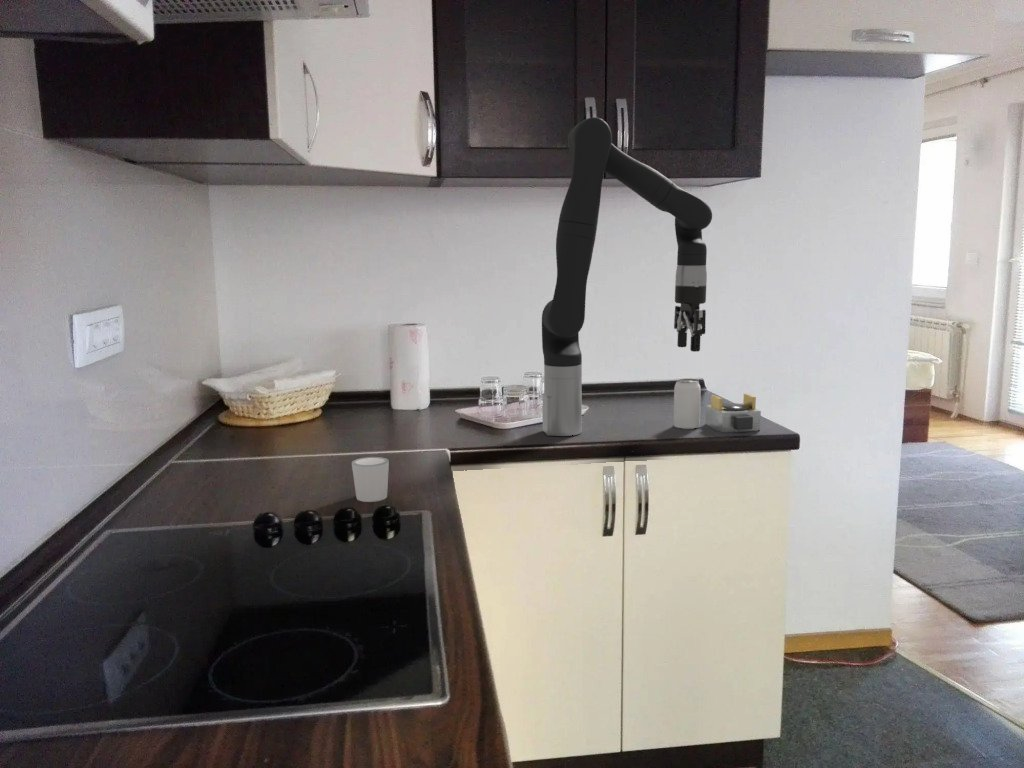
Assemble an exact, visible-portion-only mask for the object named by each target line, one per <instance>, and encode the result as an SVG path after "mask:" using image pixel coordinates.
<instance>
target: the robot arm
mask: <svg viewBox="0 0 1024 768" xmlns="http://www.w3.org/2000/svg"><path fill="white" fill-rule="evenodd" d="M612 135H613V134H612V130H611V127H610V126H609V124H608V123H607V122H606V121H605V119H602V118H600V117H596V116H593V117H589V118H585V119H583V120H582V121H580V122H579V123H577V124H576V125H574V127H572V129H571V130H570V132H569V133H568V138H567V146H568V149H569V151H570V153H571V154H572V155H573V162H572V163H573V165H572V173H571V179H570V182H569V184H568V185H569V186H568V188H567V191H566V194H565V196H564V199H563V203H562V206H561V210H560V213H559V218H558V223H557V231H556V237H555V240H556V241H555V255H556V258H555V259H556V283H555V288H554V292H553V293H554V294H553V298H552V300H551V299H550V301H548V302H547V303H546V304H545V306H544V307H543V310H542V314H541V342H542V343H541V344H542V346H541V347H542V355H543V364H544V365H543V369H544V371H543V373H544V374H543V375H544V376H543V377H544V380H543V382H544V387H543V389H544V392H543V393H542V394H541V395H542V403H541V404H542V406H541V407H542V408H541V409H542V431H543V432H544V434H545V435H546V436H553V437H554V436H555V437H570V436H572V435H573V436H578V435H580V434H582V431H583V428H582V425H583V423H582V416H583V415H582V412H583V410H582V406H583V405H582V401H583V399H582V393H583V392H582V388H583V387H582V386H583V384H582V383H583V380H582V379H583V378H582V376H583V375H582V373H583V372H582V370H583V369H582V367H583V365H582V364H583V363H582V362H583V361H582V358H583V357H582V351H581V347H580V340H579V338H580V336H579V335H580V334H579V332H581V330H582V328H583V325H584V324H585V319H586V318H585V316H586V297H587V295H586V294H587V282H588V278H589V273H590V268H591V263H592V258H593V252H594V249H595V248H594V247H595V242H596V236H597V230H598V223H599V213H600V207H601V196H602V187H603V186H602V184H603V179H604V174H607V175H610V176H611V177H612V178H614V179H616V180H617V181H619V183H622V184H623V185H625V186H626V187H627V188H628V189H630V190H632V191H633V192H634V193H636V194H637V195H638V196H639V197H641V198H642V199H644V200H645V201H646V202H647V203H649V204H650V205H652V206H654V207H655V209H657V210H660V211H661V212H665V213H669V214H670V215H672V216H673V217H674V230H675V238H676V243H677V257H676V259H677V263H676V270H675V281H674V282H675V283H674V284H675V285H674V289H675V290H674V302H675V304H679V305H675V306H674V317H673V318H674V319H673V320H674V321H673V322H674V323H673V328H674V330H676V332H677V344H676V345H677V347H678V348H687V341H688V330H689V332H690V347H689V348H690V351H691V352H700V351H701V336H702V335H705V334H706V315H707V313H706V309H705V308H703V309H701V308H700V305H701V304H702V305H703V304H705V303H706V302H707V282H708V281H707V280H708V278H707V277H708V275H707V254H708V253H707V252H708V251H707V250H708V249H707V245H706V243H705V242H704V241H703V231H702V230H704V229H706V228H707V227H709V225H710V224H711V222H712V221H713V220H712V219H713V212H712V209H711V207H710V206H709V204H707V202H705V201H704V200H703V199H701V198H699V197H698V196H696V195H694V194H693V193H691V192H689V191H687V190H685V189H683V188H681V187H680V186H678V185H677V184H675V183H674V181H672V180H671V179H669V178H668V177H666V176H665V175H663V174H662V173H661V172H660V171H658V170H656V169H655V168H653V167H651V166H650V165H647V164H645V163H643V162H641V161H639V160H637V159H635V158H634V157H631V156H630V155H628V154H626V153H625V152H624V151H622V150H621V149H619V148H618V147H617V146H615V144H614V143H613V136H612ZM702 337H703V336H702Z"/></svg>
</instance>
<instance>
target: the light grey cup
mask: <svg viewBox="0 0 1024 768" xmlns="http://www.w3.org/2000/svg"><path fill="white" fill-rule="evenodd" d="M389 463H390V460H389V459H388V458H386V457H381V456H368V457H360V458H357V459H354V460H352V461H351V470H352V476H353V482H354V483H353V484H354V490H355V497H356V499H357V501H360V502H365V503H372V502H381V501H383V500H385V499H387V497H388V483H389V467H390V465H389Z"/></svg>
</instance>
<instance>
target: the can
mask: <svg viewBox="0 0 1024 768" xmlns="http://www.w3.org/2000/svg"><path fill="white" fill-rule="evenodd" d="M673 389H674V391H673V393H674V394H673V426H674V428H676V427H677V428H676V429H679V428H683V429H682V430H695V429H694V428H697V429H698V428H699V427H700V426H701V425H700V424H701V423H700V421H701V420H700V419H701V385H700V380H699V379H697V378H696V379H694V378H677V379H676V382H675V384H674V388H673Z"/></svg>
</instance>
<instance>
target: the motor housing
mask: <svg viewBox="0 0 1024 768" xmlns="http://www.w3.org/2000/svg"><path fill="white" fill-rule="evenodd" d="M756 398H757V397H756V396H754V395H752V394H748V393H743V403H737V402H736V403H734V402H726V403H725V402H724V403H723V401H724V400H723V397H720V396H717V395H715V394H710V404H706V405H705V425H706V426H709V427H710V428H712V429H714V430H716V431H718V432H720V433H741V432H758V430H760V431H761V413H762V411H761V410H760V409H757V408H756V400H757V399H756Z"/></svg>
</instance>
